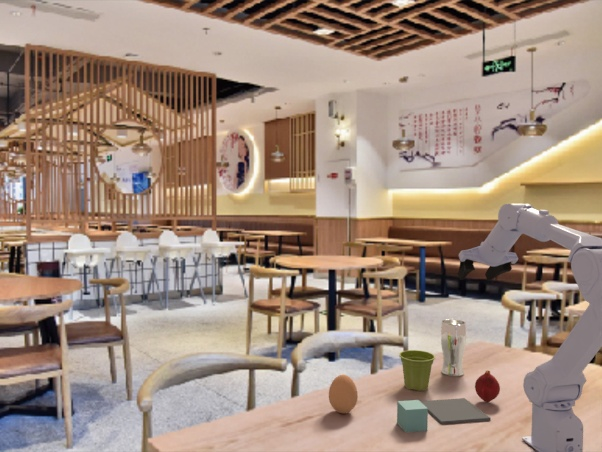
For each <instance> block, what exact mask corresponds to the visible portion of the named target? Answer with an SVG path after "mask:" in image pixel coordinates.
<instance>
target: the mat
mask: <svg viewBox="0 0 602 452" xmlns="http://www.w3.org/2000/svg"><path fill="white" fill-rule="evenodd" d="M419 401H420V400H419ZM420 402H421V403H422V404H423V405H425V406H426V407H427V408H428V414H430V415H431V416H432V417H433V418H434V419H435V420H436V421H437V422H439V424H441V425H448V424H458V423H459V424H460V423H472V422H484V421H492V420H491V417H490V416H489V415H488V414H486V413H485V412H483V410H481V409H480V408H478V407H477V406H476V405H475V404H473V403H472V402H470V401H469V400H468V399H466V398H465V397H462V398H448V399H447V398H446V399H432V400H421V401H420Z"/></svg>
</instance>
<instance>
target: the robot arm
mask: <svg viewBox="0 0 602 452" xmlns="http://www.w3.org/2000/svg"><path fill="white" fill-rule="evenodd" d="M549 213H550V211H549V210H547V209H536V208H535V207H534V206H532V205H531V204H530V203H504V204H502V205H501V206H500V209H498V215H497V219H498V220H497V222H496V223H495V225H494V227H493V228H492V229H491V230H490V233H488V235H487V236H486V238H485V240H484V241H481V243H480V245H479V246H476V247H472V248H469V249H465V250H464V249H463V250H461V251H460V252H459V253H458V259H459V268H458V271H457V277H458V279H459V280H460V281H464V279H466V277H467V276H468V275H469V274H470V273H472V272H474V271H475V270H476V268H475V265H474V262H476V263H479V264H483V265H485V266H488V267H487V269H486V271H485V274H484V276H485V278H486V281H488V282H491V281H492V280H494V279H495V278H497V277H499V276H500V275H503V274H505V273H508V272H509V273H510V271H512V270H513V267H512V264H513V265H515V264H516V263H517V262H518V260H519V257H518V255H517V253H516V252H511V251H510V250H511V249H512V247H513V246H514V245H515V244H516V242H517V241H518V239H519V238H520V236H522V235H526V236H528V237H530V238H532V239H535V240H536V241H539V242H542V243H545V242H549V241H550V240H551V241H552V242H554V243H556V244H558V245H560V246H561V247H563V248H565V249H567V250H569V251H570V252H569V254H568V259H567V261H568V263H570V268H571V269H570V270H571V272H572V274H573V278H574V281H575V282H576V285H577V286H578V287H577V288H578V290H579V292H580V293H581V296H582V299H583V300H584V301H586V302H587V303H589V305H588V306H587V308H586V309H585V311H584V312H583V313H582V315H581V316H580V317H579V319H578V321H577V322H576V323H575V325H574V326H573V327H572V329H571V331H569V334H568V335H567V336H566V338H565V339H564V341H563V342H562V343H561V345H560V346H559V348H558V350H557V351H556V352H555V354H554V355H553V356H552V357H551V359H550V360H547V361H545V362H543V363H541V364H539V365H537V366H536V367H535V368H534V370H532V371H528V372H527V373H526V374H525V376H524V378H523V384H522V385H523V392H524V394H525V396H526V397H527V399H528V400H529V401H528V402H530V403H532V404H531V405H532V406H531V407H532V408H531V432H530V433H531V435H529V436H522V437H521V440H522V441H523V442H525V444H527V445H529V446H530V447H532V449H534V450H535V451H537V452H583V451H584V449H583V446H584V424H583V421H582V420H581V419H580V418H579V416H577V415H576V414H575V412H574V410H573V407H575V406H576V401H577V400H579V399H580V398H581V396H582V394H583V387H584V385H585V384H586V383H587V378H586V377H585V374H584V373H583V372H584V370H585V369H586V367H588V365H590V363H591V361H592V360H594V359H593V358H594V357H595V356H596V355H597V354H598V352H599V351H600V350H601V348H602V238H601V237H599V236H595V235H592V234H589V233H586V232H584V231H580V230H576V229H574V228H571V227H568V226H565V225H561V224H559V221H558V219H557V218H556V217H555V216H554V215H552V214H549Z"/></svg>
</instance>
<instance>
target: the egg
mask: <svg viewBox="0 0 602 452" xmlns="http://www.w3.org/2000/svg"><path fill="white" fill-rule="evenodd" d="M328 400H329V403H330V406H331V407H332V409H334V411H335V412H336V413H338V414H343V415H344V414H347V413H350V412H352V410H353V409H354V408H355V407H356V405H357V404H358V403H357V402H358V389H357V386H356V383H355V382H354V380H353V379H352V378H351V377H350V376H349V375H346V374H340V375H338V376H336V377H335V378H334V379H333V380H332V382H331V384H330V386H329V389H328Z"/></svg>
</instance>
